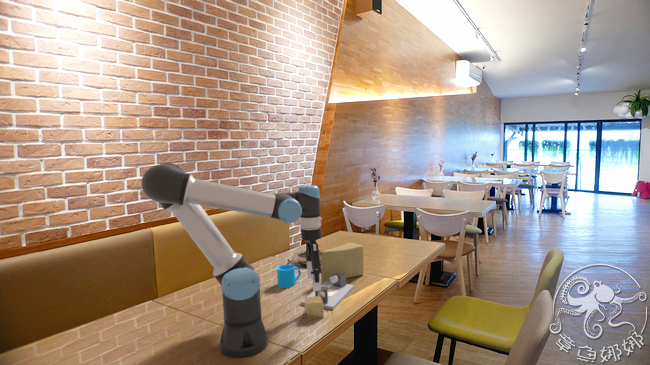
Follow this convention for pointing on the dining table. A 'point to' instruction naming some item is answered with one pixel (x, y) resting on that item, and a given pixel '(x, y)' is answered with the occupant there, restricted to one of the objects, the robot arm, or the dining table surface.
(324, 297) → the shaft left
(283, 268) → the mug
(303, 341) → the dining table surface
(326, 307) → the grey base plate
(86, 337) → the dining table surface
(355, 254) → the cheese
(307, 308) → the block
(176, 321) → the dining table surface
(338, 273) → the shaft right
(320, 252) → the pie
